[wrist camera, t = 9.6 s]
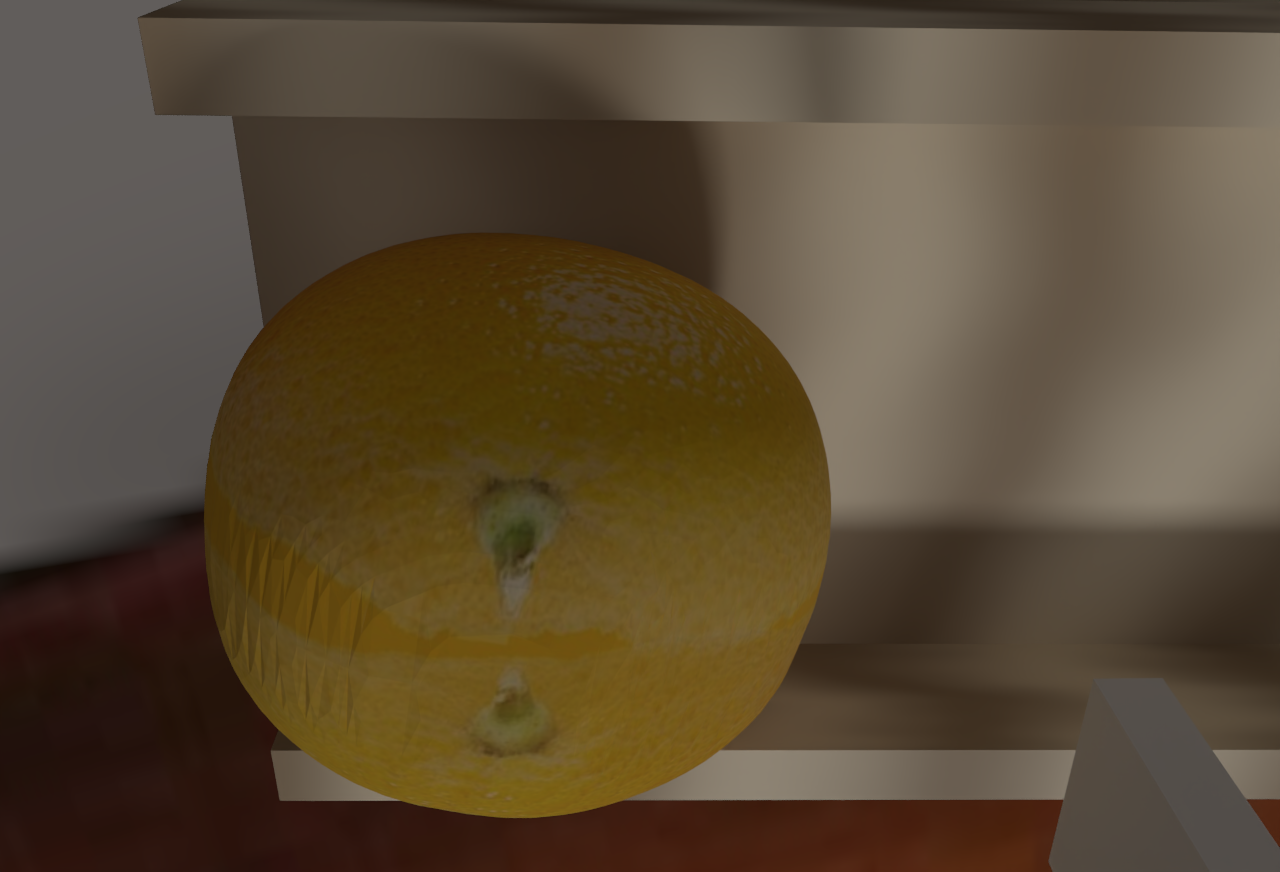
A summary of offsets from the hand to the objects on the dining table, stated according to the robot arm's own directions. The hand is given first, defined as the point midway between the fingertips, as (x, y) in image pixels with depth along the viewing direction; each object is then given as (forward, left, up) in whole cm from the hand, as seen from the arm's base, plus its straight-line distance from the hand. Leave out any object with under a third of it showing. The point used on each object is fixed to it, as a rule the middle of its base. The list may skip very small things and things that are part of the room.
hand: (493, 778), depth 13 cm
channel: (+7, 0, -10) cm, 12 cm away
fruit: (0, 0, -9) cm, 9 cm away
